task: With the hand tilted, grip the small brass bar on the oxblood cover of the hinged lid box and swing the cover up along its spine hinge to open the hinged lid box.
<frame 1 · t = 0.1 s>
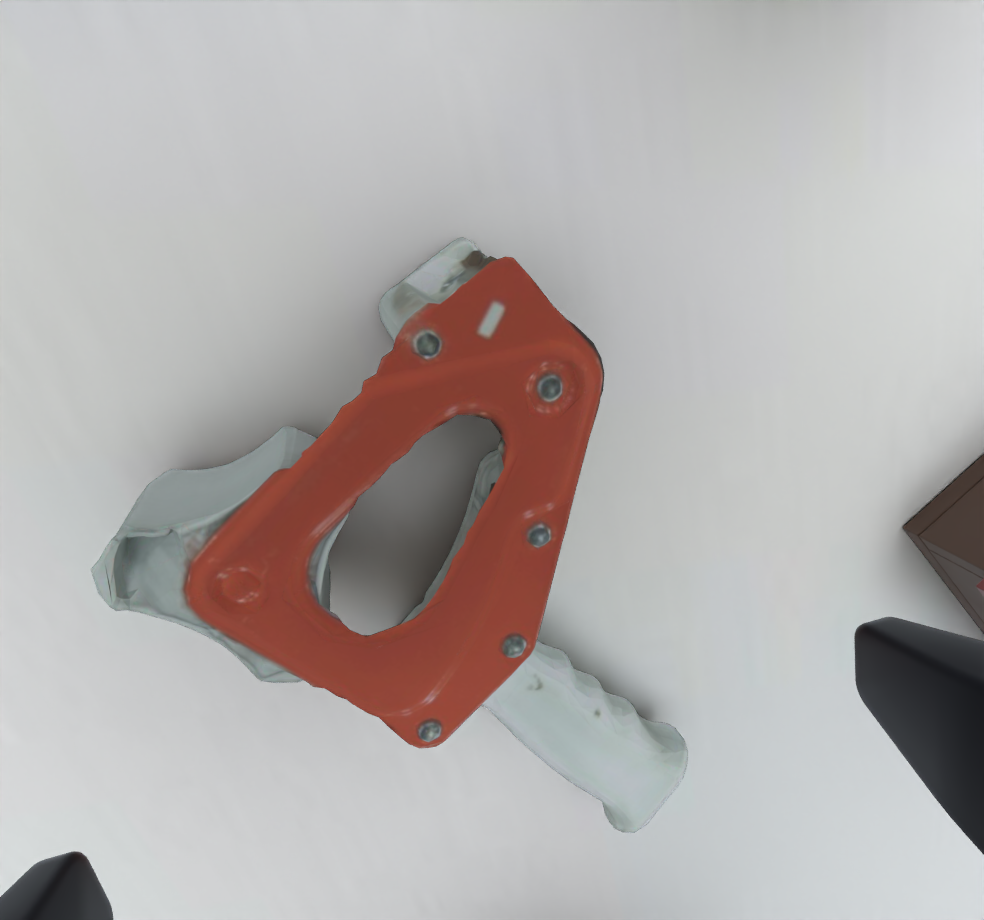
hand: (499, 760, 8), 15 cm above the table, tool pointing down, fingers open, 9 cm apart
tape dispenser: (438, 554, 23), on the table
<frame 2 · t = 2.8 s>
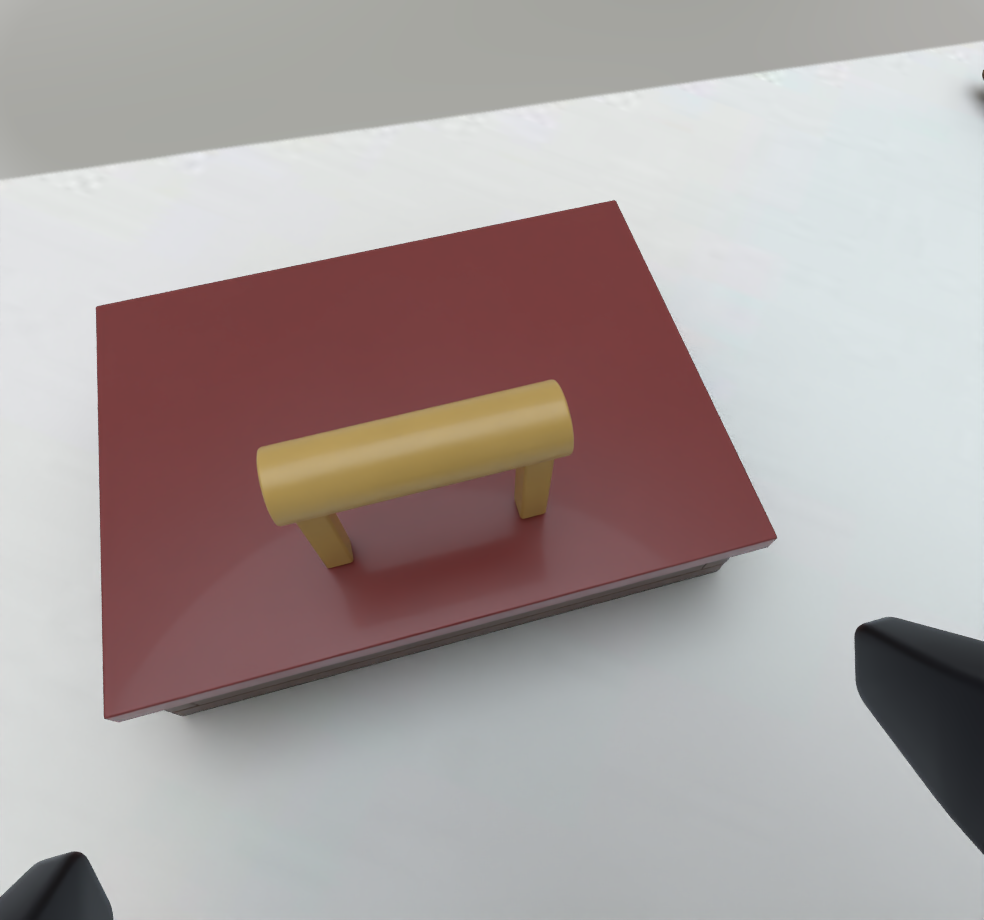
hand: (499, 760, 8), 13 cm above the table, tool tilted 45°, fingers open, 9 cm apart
hinged lid box: (420, 473, 24), on the table
cover: (396, 366, 18), point 7 cm above the table, hinge at 0.0°
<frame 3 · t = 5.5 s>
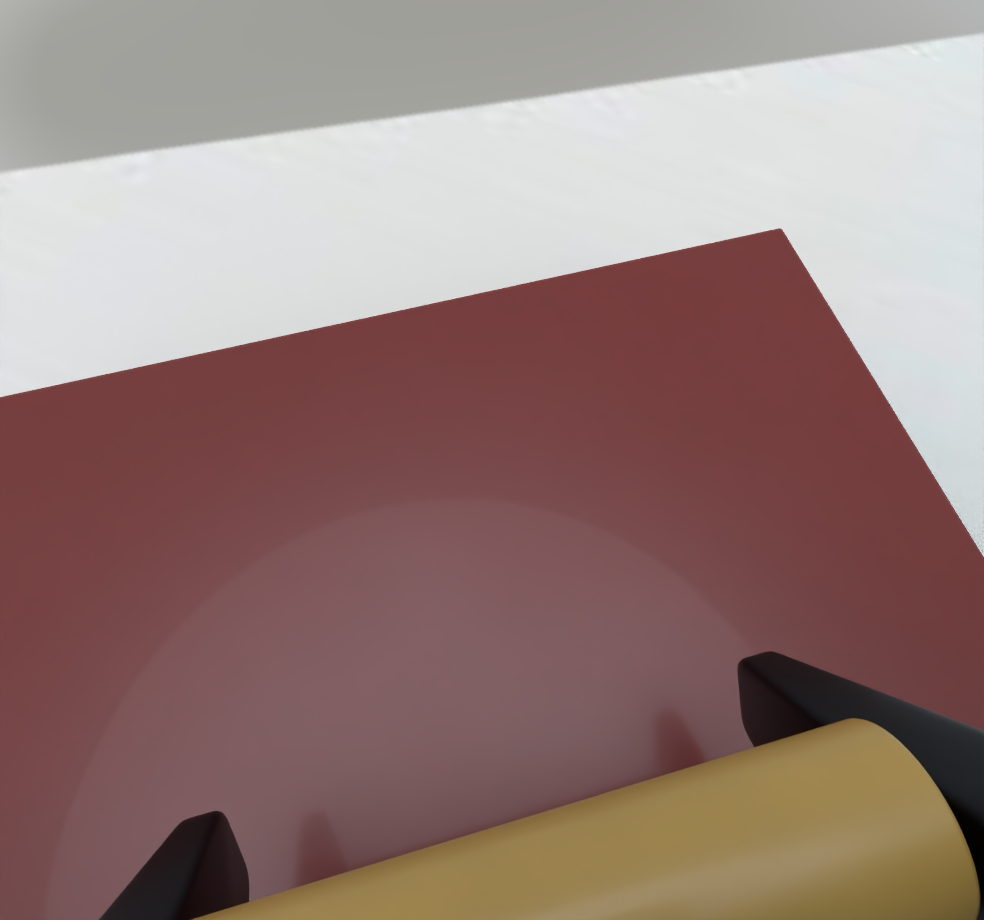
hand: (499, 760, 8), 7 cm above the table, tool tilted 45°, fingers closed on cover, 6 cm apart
cover: (451, 576, 9), point 7 cm above the table, hinge at 0.0°, touching gripper
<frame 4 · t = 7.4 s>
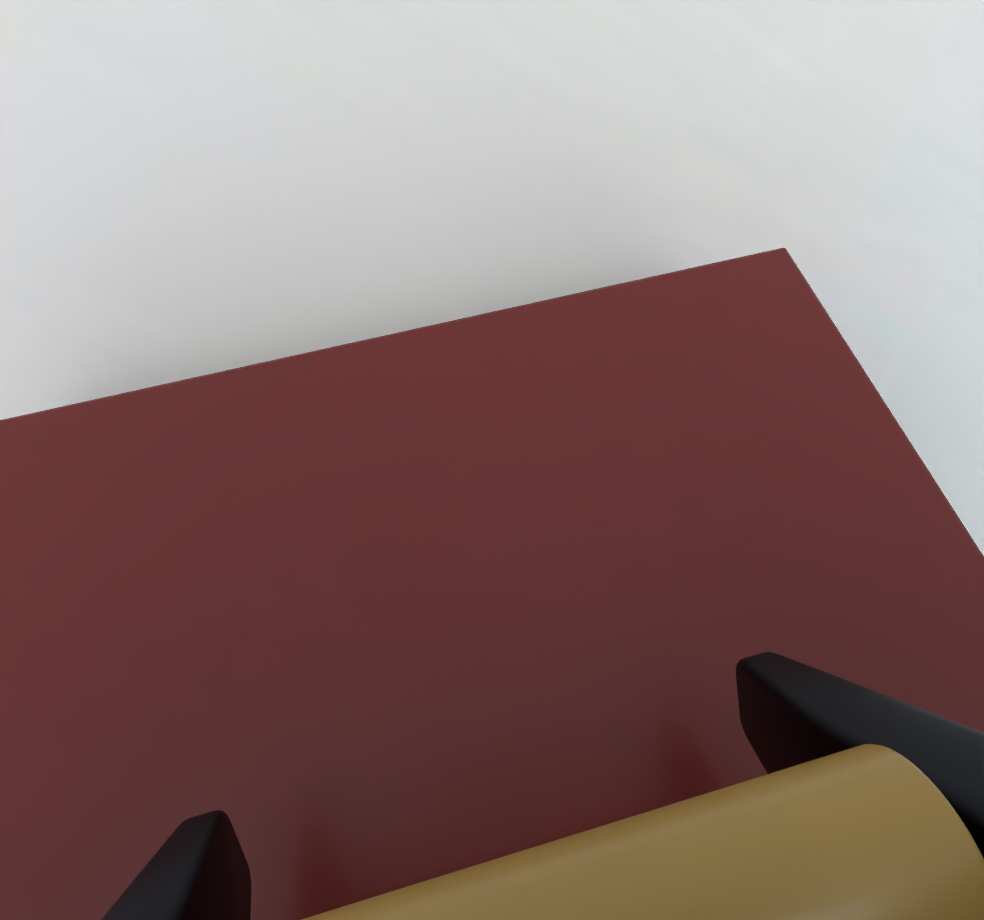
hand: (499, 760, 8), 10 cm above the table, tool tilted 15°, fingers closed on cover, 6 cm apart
cover: (456, 597, 9), point 9 cm above the table, hinge at 29.3°, touching gripper
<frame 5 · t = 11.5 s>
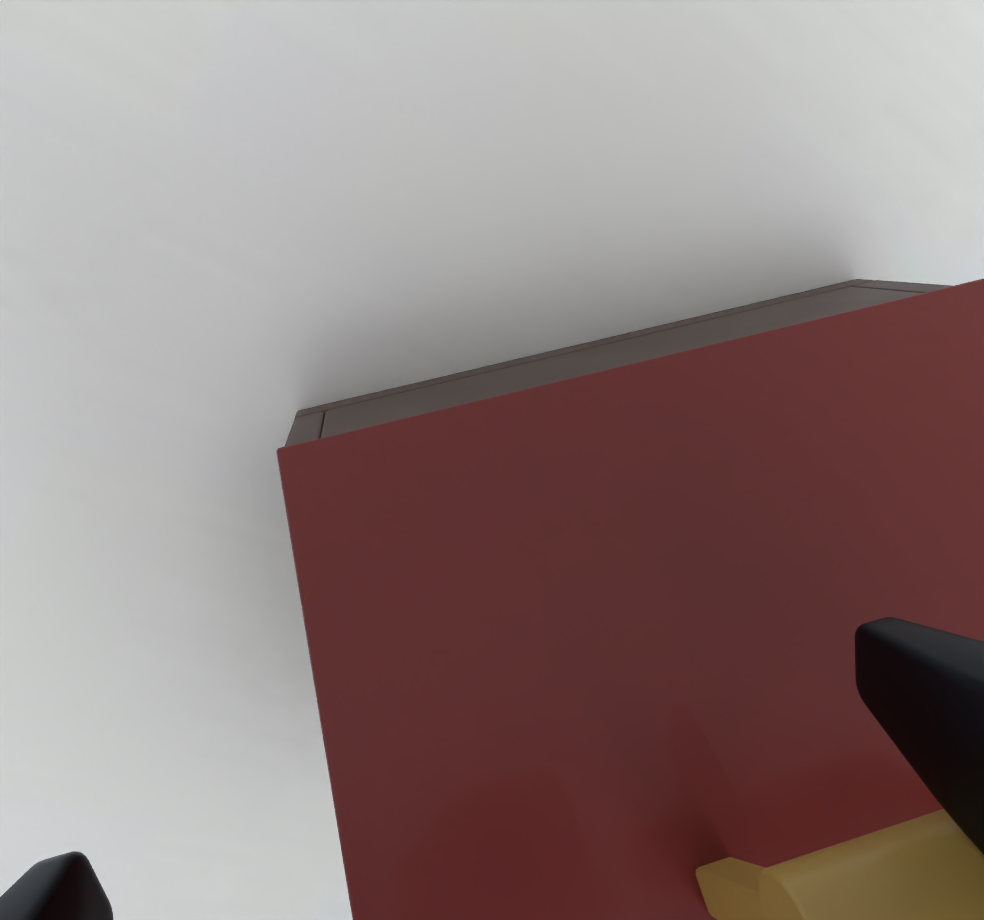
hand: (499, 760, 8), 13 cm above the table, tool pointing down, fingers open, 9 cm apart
hinged lid box: (618, 526, 22), on the table
cover: (818, 597, 11), point 10 cm above the table, hinge at 42.9°
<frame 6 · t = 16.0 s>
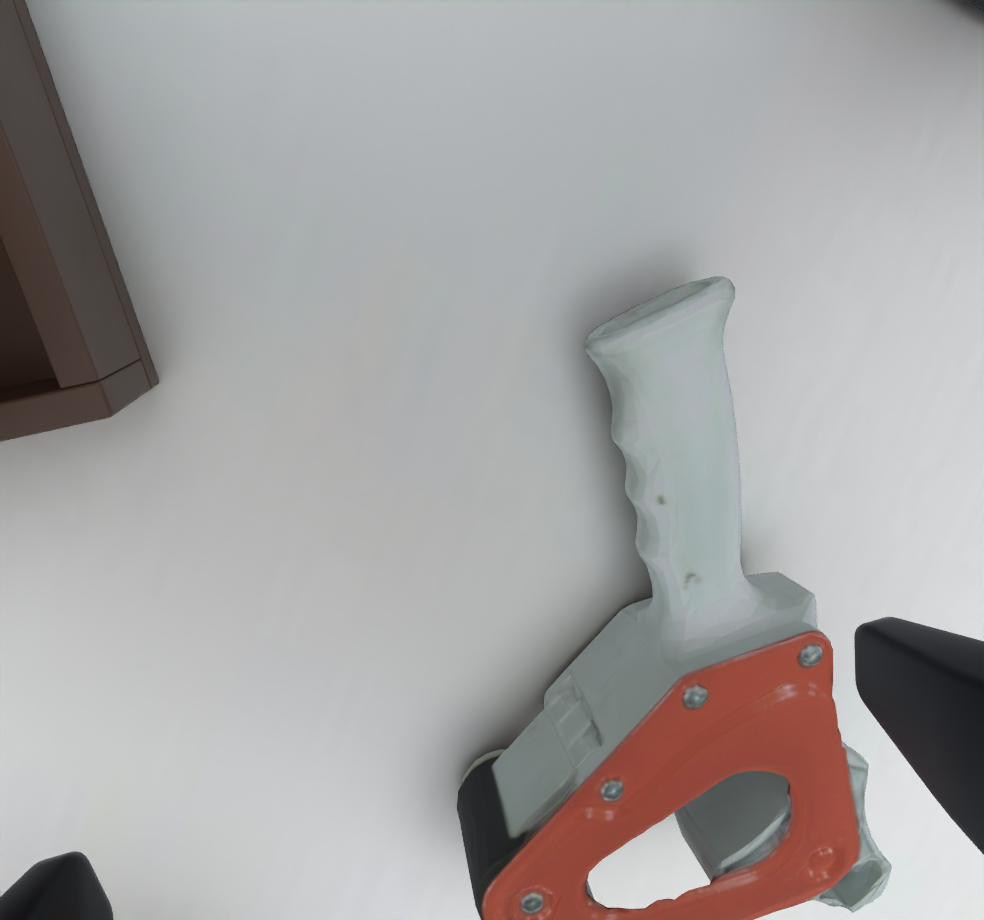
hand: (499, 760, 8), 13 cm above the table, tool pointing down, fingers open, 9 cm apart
tape dispenser: (653, 641, 24), on the table
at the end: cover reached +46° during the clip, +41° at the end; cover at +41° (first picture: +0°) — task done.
